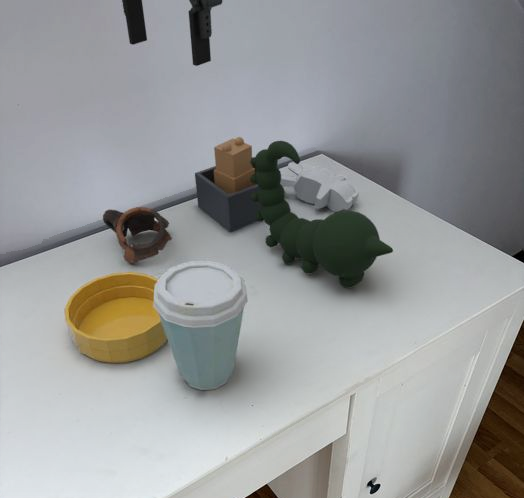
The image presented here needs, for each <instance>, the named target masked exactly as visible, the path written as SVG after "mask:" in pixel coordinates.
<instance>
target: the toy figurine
mask: <svg viewBox="0 0 524 498" xmlns="http://www.w3.org/2000/svg"><path fill="white" fill-rule="evenodd" d="M283 158H287V159H289V160H291V162H295V163H296V164H299V165H300V163H301V158H300V155H299V154H298V151H297V149H296V148H295V147H294V146H293V144H291V143H289V141H285V140H276V141H273V142H271V143H270V144H269V145H268V147H267V148H266V149H261V150H259V151H258V152H257V153H256V155H255V156H252V158H251V160H250V164H251V165H252V166H255V167H256V169H257V171H256V174H252V175H251V177H250V181H251V182H252V183H255V184H256V183H257V185H258V186H259V189H258V193H257V192H255V193H253V194H252V196H251V199H252V201H254V202H258V201H259V202H260V204H261V205H262V207H261V210H260V211H257V212H256V213H255V217H254V218H255V219H256V221H257V222H259V223H262V222H264V224H266V225H267V226H269V233H270V234H269V235H267V236H266V237H265V245H266V246H267V247H269V248H275V247H277V246H278V245H280V247H281V250H282V251H283V253H282V256H281V259H282V261H283V263H284V264H287V265H291V264H293V263H294V262H295V261H296V259H299V260H301V259H302V260H301V263H300V268H301V270H302V271H303V273H305V274H308V275H311V274H314V273H315V272H317V271H318V270H319V266H320V267H321V268H322V269H323V270H324V271H326V273H329V274H330V275H332V276H335V277H338V281H339V284H340V285H341V287H343V288H346V289H351V288H353V287H355V286H357V285H358V284H360V283H361V282H362V281H363V279H364V277H365V274H366V273H365V272H366V271H367V270H368V269H370V268H371V267H372V265H373V264H374V263H375V261H376V260H377V257H381V256H385V255H388V254H393V253H394V248H392V247H391V246H390V245H388V244H387V243H385V242H384V241H383V240H381V239H380V233H379V231H378V229H377V227H376V225H375V223H373V221H372V220H371V219H370V218H369V217H368V216H366V215H365V214H363V213H361V212H358V211H355V210H341V211H337V212H334V213H331V214H329V215H328V216H327V217H326V218H324V219H321V218H320V219H319V218H318V219H317V218H315V219H311V220H309V219H307V218H303V217H299V216H298V215H297V214H295V213H294V212H293V211H292V210H291V207H290V204H289V202H288V201H287V200H286V191H285V187H284V186H282V185H281V184H280V182H281V174H282V173H281V170H280V169H279V167H278V162H279V160H281V159H283Z"/></svg>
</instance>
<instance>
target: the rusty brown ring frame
mask: <svg viewBox="0 0 524 498" xmlns="http://www.w3.org/2000/svg"><path fill="white" fill-rule="evenodd" d="M155 219H156V220H155ZM102 221H103V223H104V225H106V226H107V227H108V228H109V229H110V230H111V231H112V232H114V234H116V237H117V241H118V244H119V246H120V247H121V248H122V250H123V258H124V261H125V262H127V263H129V264H131V265H134V264H135V262H141V261H144V260H147V259H150V258H153V257H154V256H157V255H158V254H159V253H160V251H163V250H164V248H165V247H166V245H167V244H168V242H170V241H172V240H173V238H172V236H171V234H170V233H169V231H168V230H167V228H168V227H169V225H170V222H169V221H168V220H167V218H165V217H163V216H162V215H161V214H160V213H159V212H157V211H156V210H155V209H152V208H149V207H145V206H139V207H138V206H136V207H133V208H130V209H127V210H126V211H125V212H122V211H120V210H118V209H117V210H116V209H106V210H105V211H104V212H103V215H102ZM128 230H129V232H130V234H131V237H133V238H134V237H136V236H137V235H138V234H140V233H143V232H147V231H151V232H156V233H158V234H157V235H156V237H155V238H153V240H151V241H149V242H147V243H142V244H141V243H133V242H132V243H131V245H130V244H128V240H127V238H126V237H127V234H128Z"/></svg>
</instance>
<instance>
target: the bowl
mask: <svg viewBox="0 0 524 498" xmlns="http://www.w3.org/2000/svg"><path fill="white" fill-rule="evenodd" d="M158 279H159V278H156V277H154V276H152V275H149V274H147V273H140V272H134V271H125V272H115V273H109V274H106V275H102V276H99V277H96V278H94V279H92V280H90V281H88V282H87V283H85V284H83V285H82V286H80V287H79V288H77V290H76V291H75V292H73V293H72V295H70V297H69V299H68V301H67V303H66V305H65V307H64V317H65V323H66V326H67V328H68V332H69V334H70V337H71V340H72V343H73V344H74V345H75V347H76V348H77V349H78V350H79V352H80V353H82V354H83V355H86V356H88V358H91V359H93V360H95V361H98V362H102V363H110V364H123V363H129V362H134V361H138V360H141V359H143V358H145V357H148V356H150V355H151V354H153V353H155V352H156V351H158V350H159V349H160V348H161V347H163V345H165V343H167V341H168V339H167V336H166V333H165V330H164V328H163V325H162V322H161V319H160V317H159V314H158V311H157V310H156V309H155V308H154V307H153V304H154V286H155V284H156V283H157V282H158Z"/></svg>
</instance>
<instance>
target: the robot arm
mask: <svg viewBox="0 0 524 498" xmlns="http://www.w3.org/2000/svg"><path fill="white" fill-rule="evenodd" d="M188 2H189V3H190V5H191V8H190V9H189V10H188V21H189V32H190V33H189V34H190V46H191V47H190V48H191V58H192V59H191V60H192V65H193V66H195V67H198V66H201V65H204V64H206V63H209V62H211V61H212V57H211V41H210V40H211V39H210V38H211V37H212V34H213V33H212V31H213V29H212V16H211V15H212V14H211V12H212V9H213V8H214V7H218V6H222V5H223V0H188ZM121 3H123V4H122V10H123V9H124V10H123V15H124V16H125V20H126V28H127V34H128V41H129V44H130V45H132V46H133V45H137V44H140V43H144V42H146V41H148V35H147V29H146V28H147V27H146V21H145V14H144V5H143V0H121Z"/></svg>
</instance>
